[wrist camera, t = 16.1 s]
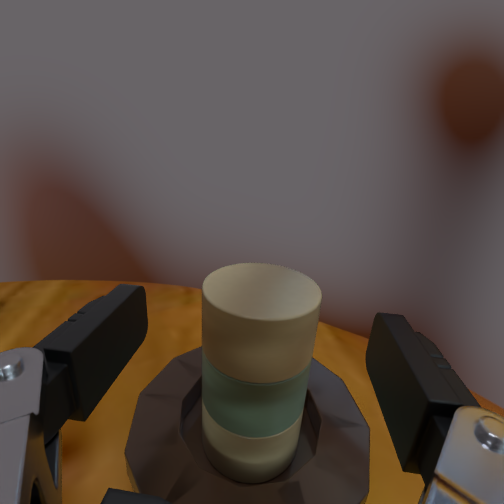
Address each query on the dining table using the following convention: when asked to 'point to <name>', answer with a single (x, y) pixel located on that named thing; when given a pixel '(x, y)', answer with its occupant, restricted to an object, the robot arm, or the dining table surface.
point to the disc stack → (255, 366)
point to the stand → (228, 490)
